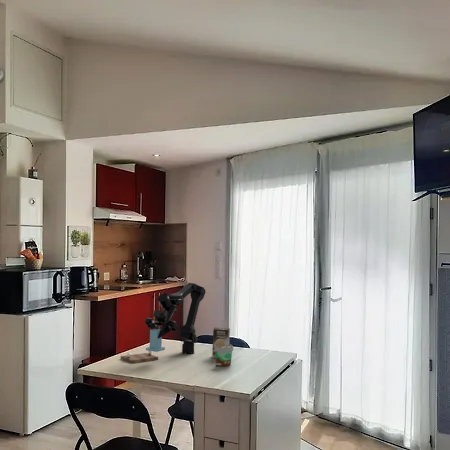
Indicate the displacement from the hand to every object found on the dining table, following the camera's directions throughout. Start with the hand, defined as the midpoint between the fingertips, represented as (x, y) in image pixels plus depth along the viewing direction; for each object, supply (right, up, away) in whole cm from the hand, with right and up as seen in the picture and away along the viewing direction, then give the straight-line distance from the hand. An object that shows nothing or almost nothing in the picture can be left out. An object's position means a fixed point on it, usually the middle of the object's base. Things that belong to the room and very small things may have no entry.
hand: (154, 337), depth 253 cm
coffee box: (+34, -16, +20) cm, 42 cm away
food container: (+37, -15, +1) cm, 40 cm away
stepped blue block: (+1, -7, +1) cm, 7 cm away
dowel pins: (-9, -12, +8) cm, 17 cm away
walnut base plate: (-9, -14, +8) cm, 18 cm away
